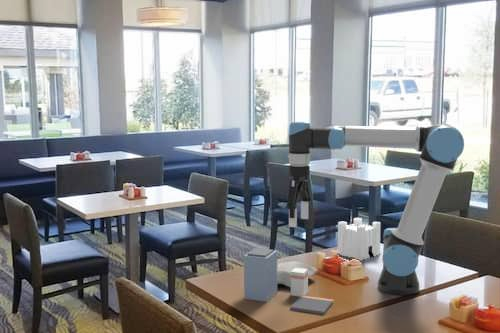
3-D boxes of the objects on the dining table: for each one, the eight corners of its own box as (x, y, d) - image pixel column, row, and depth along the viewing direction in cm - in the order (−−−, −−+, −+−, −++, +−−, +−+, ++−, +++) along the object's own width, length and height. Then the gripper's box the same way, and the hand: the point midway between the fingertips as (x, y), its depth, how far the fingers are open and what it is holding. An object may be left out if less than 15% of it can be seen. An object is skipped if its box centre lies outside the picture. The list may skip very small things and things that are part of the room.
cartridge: (308, 292, 215) (308, 269, 214) (304, 297, 211) (304, 273, 210) (295, 290, 218) (295, 267, 216) (290, 295, 213) (290, 271, 212)
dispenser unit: (277, 292, 215) (277, 249, 213) (267, 301, 206) (267, 256, 204) (253, 289, 219) (252, 246, 217) (242, 298, 210) (242, 253, 208)
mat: (333, 302, 205) (333, 299, 205) (324, 314, 194) (324, 311, 194) (301, 298, 210) (301, 295, 210) (290, 309, 199) (290, 306, 199)
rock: (248, 265, 232) (306, 251, 238) (250, 282, 233) (307, 268, 240) (263, 282, 214) (325, 267, 220) (266, 300, 215) (327, 284, 222)
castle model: (356, 248, 274) (357, 217, 272) (381, 254, 264) (381, 222, 262) (336, 254, 265) (336, 222, 263) (361, 260, 254) (361, 227, 253)
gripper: (300, 160, 221) (299, 214, 223) (277, 168, 198) (277, 229, 201) (319, 161, 218) (318, 216, 221) (298, 169, 195) (297, 231, 198)
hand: (298, 222), depth 211 cm, fingers open, 13 cm apart
